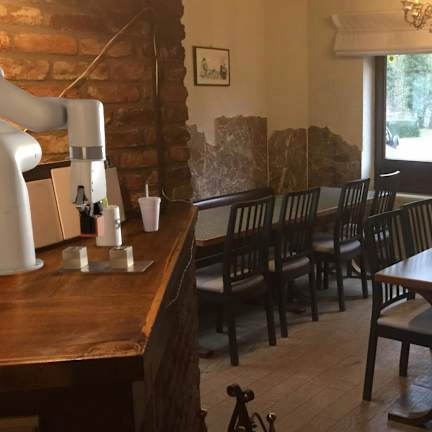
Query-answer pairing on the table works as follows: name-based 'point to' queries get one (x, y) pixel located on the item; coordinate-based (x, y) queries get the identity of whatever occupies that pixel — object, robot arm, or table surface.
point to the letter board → (109, 267)
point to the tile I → (74, 257)
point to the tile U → (121, 257)
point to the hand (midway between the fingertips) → (92, 230)
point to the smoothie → (149, 211)
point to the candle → (110, 226)
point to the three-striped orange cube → (99, 227)
